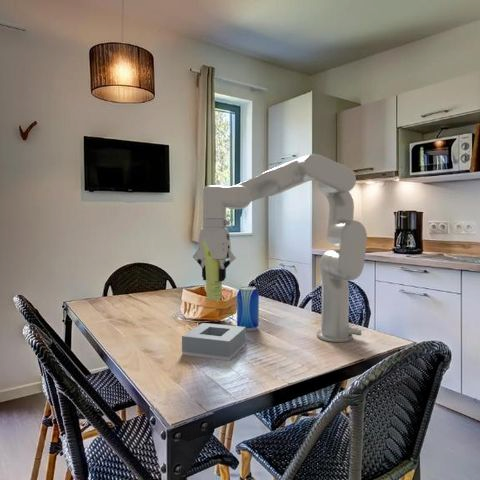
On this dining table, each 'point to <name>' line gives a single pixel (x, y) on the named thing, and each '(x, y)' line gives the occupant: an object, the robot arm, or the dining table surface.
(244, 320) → the beer can
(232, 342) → the well
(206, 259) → the tube
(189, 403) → the dining table surface
